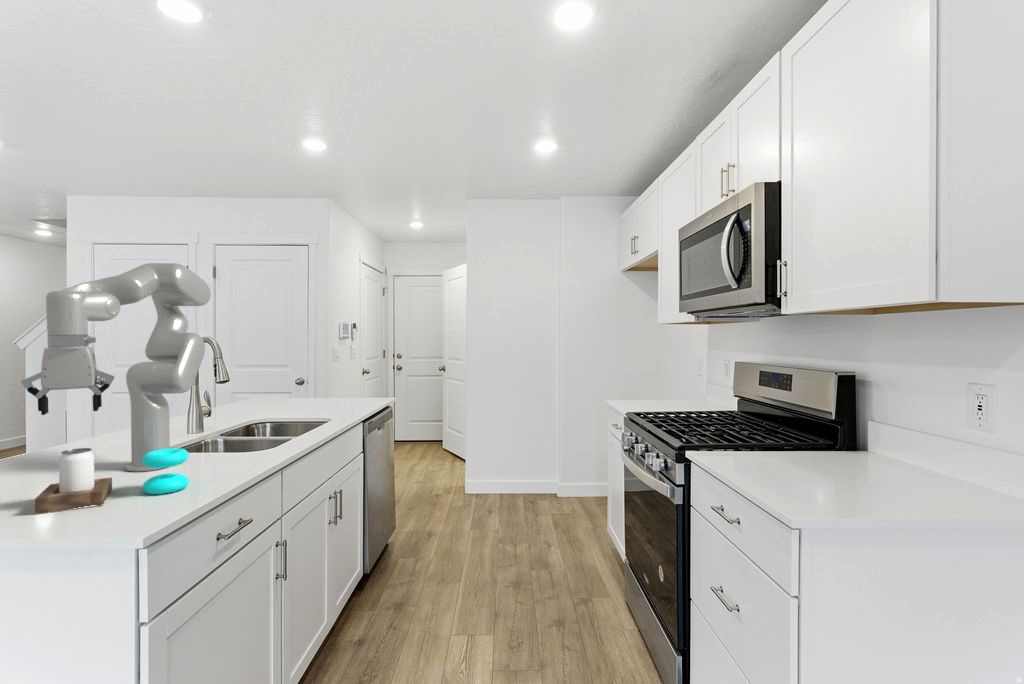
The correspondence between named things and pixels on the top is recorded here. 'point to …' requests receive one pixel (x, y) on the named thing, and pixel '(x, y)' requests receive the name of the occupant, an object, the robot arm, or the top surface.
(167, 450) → the donuts
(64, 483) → the can
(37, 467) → the top surface
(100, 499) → the socket block
